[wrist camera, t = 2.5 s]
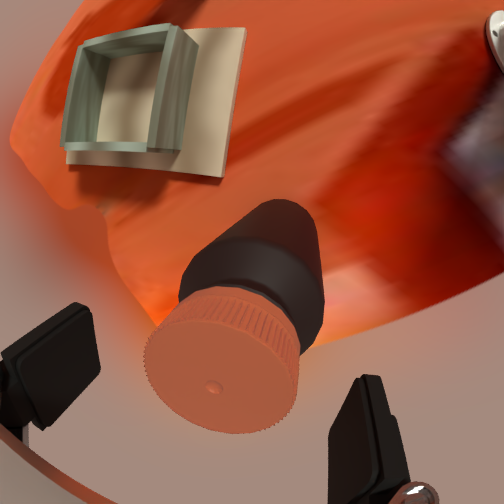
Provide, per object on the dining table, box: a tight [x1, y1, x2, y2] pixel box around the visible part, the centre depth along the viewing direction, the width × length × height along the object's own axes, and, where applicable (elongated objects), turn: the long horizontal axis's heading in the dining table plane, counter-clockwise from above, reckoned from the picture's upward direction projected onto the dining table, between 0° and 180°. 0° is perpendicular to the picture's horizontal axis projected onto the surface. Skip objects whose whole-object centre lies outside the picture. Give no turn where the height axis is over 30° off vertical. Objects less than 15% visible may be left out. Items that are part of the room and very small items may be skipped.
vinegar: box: [143, 199, 325, 434], centre depth 17 cm, size 7×7×20 cm
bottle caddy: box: [60, 23, 247, 177], centre depth 22 cm, size 20×15×6 cm
